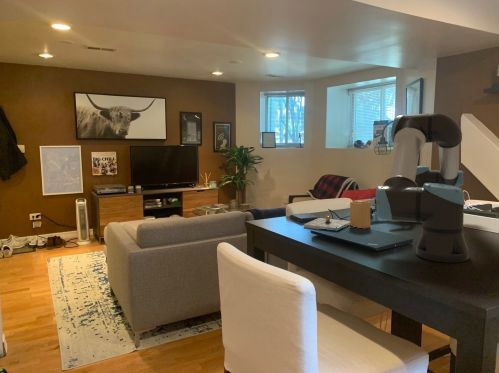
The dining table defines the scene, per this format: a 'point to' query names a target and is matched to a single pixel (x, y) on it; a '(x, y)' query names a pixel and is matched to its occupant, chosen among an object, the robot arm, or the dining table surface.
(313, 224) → the plate
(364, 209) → the wooden block
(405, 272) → the dining table surface
